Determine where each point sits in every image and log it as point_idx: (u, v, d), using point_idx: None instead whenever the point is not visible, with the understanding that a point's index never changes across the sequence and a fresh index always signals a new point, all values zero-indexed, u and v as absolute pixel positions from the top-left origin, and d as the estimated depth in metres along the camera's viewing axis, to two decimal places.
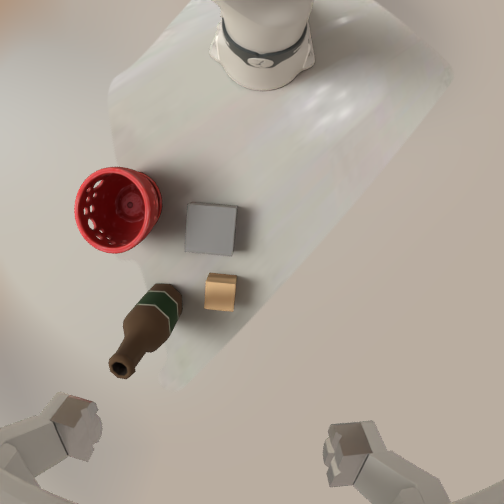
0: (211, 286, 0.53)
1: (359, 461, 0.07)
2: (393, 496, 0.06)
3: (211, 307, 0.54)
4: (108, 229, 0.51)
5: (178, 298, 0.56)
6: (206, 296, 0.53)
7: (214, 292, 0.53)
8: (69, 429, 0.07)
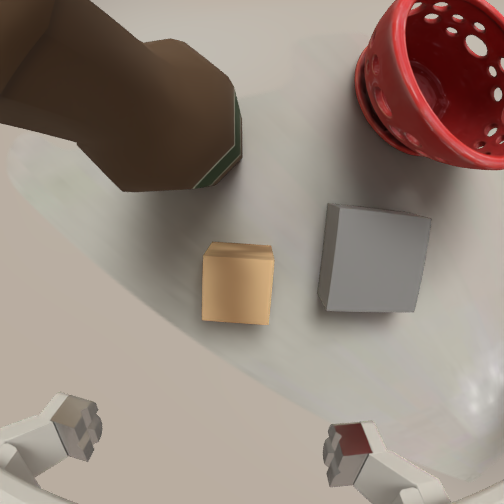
0: (261, 273, 0.22)
1: (359, 461, 0.07)
2: (393, 496, 0.06)
3: (207, 272, 0.22)
4: None
5: (216, 182, 0.23)
6: (235, 261, 0.22)
7: (247, 280, 0.22)
8: (69, 429, 0.07)
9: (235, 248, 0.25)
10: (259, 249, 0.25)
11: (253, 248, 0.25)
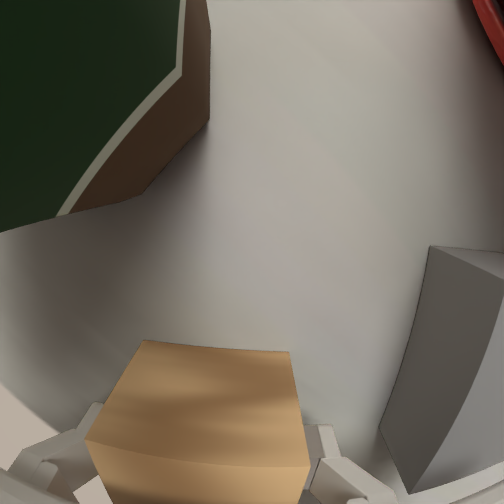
0: (268, 490, 0.06)
1: (311, 465, 0.07)
2: None
3: (109, 473, 0.06)
4: None
5: (115, 196, 0.06)
6: (182, 466, 0.05)
7: (223, 500, 0.06)
8: None
9: (193, 381, 0.08)
10: (260, 382, 0.08)
11: (243, 377, 0.09)
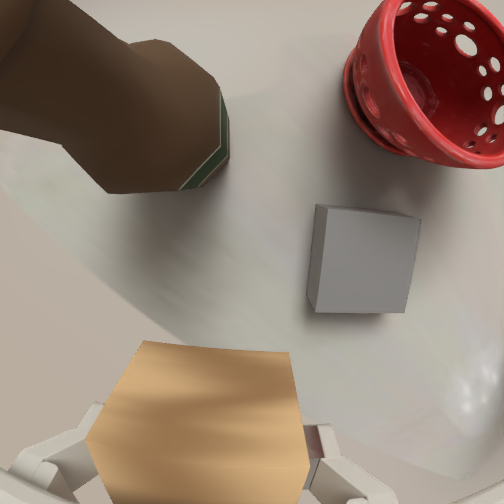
0: (268, 490, 0.06)
1: (311, 465, 0.07)
2: None
3: (109, 473, 0.06)
4: None
5: (203, 184, 0.23)
6: (182, 466, 0.05)
7: (223, 500, 0.06)
8: None
9: (193, 382, 0.08)
10: (260, 383, 0.08)
11: (243, 378, 0.09)
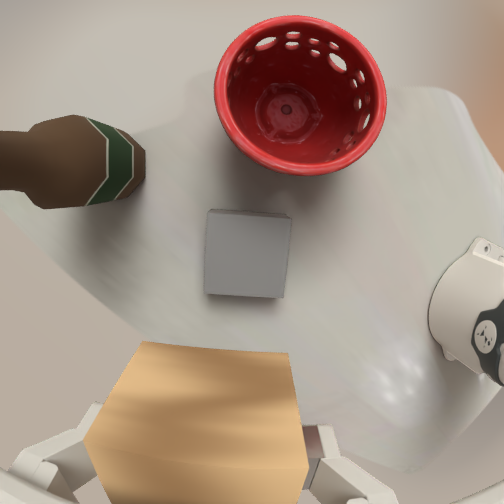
0: (266, 492, 0.06)
1: (311, 465, 0.07)
2: None
3: (108, 474, 0.06)
4: (248, 70, 0.26)
5: (122, 197, 0.30)
6: (181, 468, 0.05)
7: (222, 501, 0.06)
8: None
9: (191, 382, 0.08)
10: (259, 384, 0.08)
11: (242, 378, 0.09)
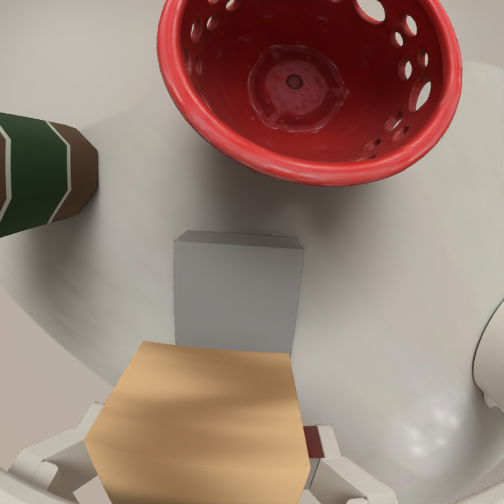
0: (268, 492, 0.06)
1: (311, 465, 0.07)
2: None
3: (109, 475, 0.06)
4: (233, 23, 0.15)
5: (64, 216, 0.20)
6: (182, 468, 0.05)
7: (223, 501, 0.06)
8: None
9: (192, 383, 0.08)
10: (260, 384, 0.08)
11: (243, 379, 0.09)
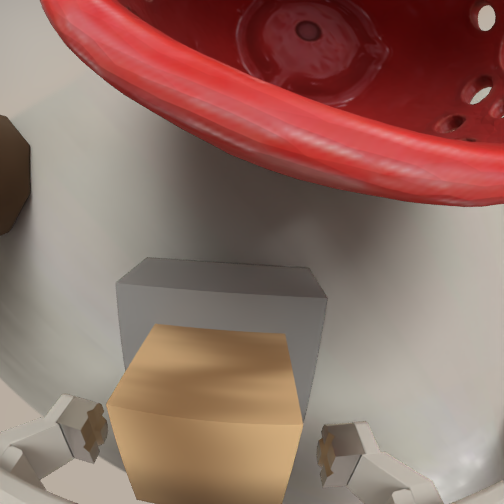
0: (267, 449, 0.07)
1: (352, 462, 0.07)
2: (386, 498, 0.06)
3: (126, 438, 0.07)
4: None
5: None
6: (192, 425, 0.07)
7: (227, 460, 0.07)
8: (75, 431, 0.07)
9: (200, 357, 0.10)
10: (259, 357, 0.10)
11: (245, 353, 0.10)
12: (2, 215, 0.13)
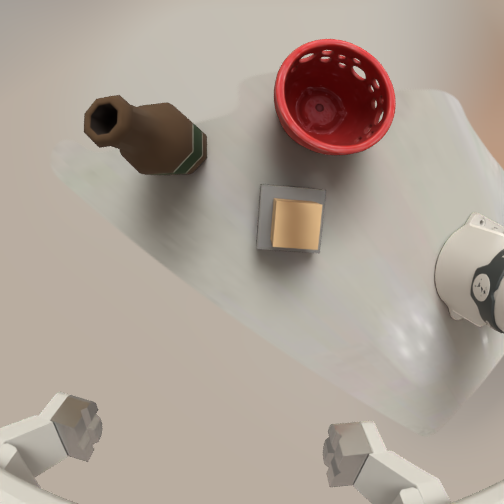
0: (314, 213, 0.34)
1: (359, 461, 0.07)
2: (393, 496, 0.06)
3: (279, 212, 0.34)
4: (292, 77, 0.34)
5: (190, 172, 0.39)
6: (297, 205, 0.33)
7: (304, 217, 0.34)
8: (69, 429, 0.07)
9: (292, 200, 0.36)
10: (308, 201, 0.36)
11: (304, 201, 0.37)
12: (198, 164, 0.39)
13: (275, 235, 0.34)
